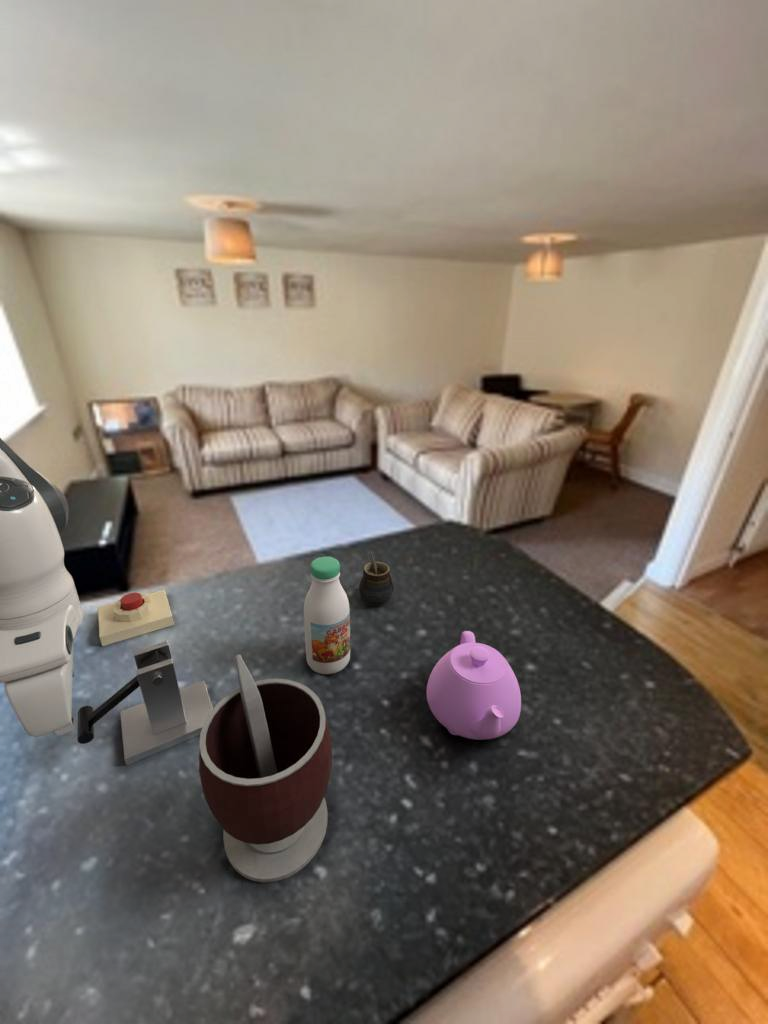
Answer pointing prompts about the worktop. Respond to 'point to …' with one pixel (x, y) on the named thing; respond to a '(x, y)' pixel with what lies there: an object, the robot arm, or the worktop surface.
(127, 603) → the button
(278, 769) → the mate gourd
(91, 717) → the lever
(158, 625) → the button box
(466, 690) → the teapot
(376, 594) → the mate gourd
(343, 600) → the milk bottle
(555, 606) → the worktop surface
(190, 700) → the bracket
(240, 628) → the worktop surface
